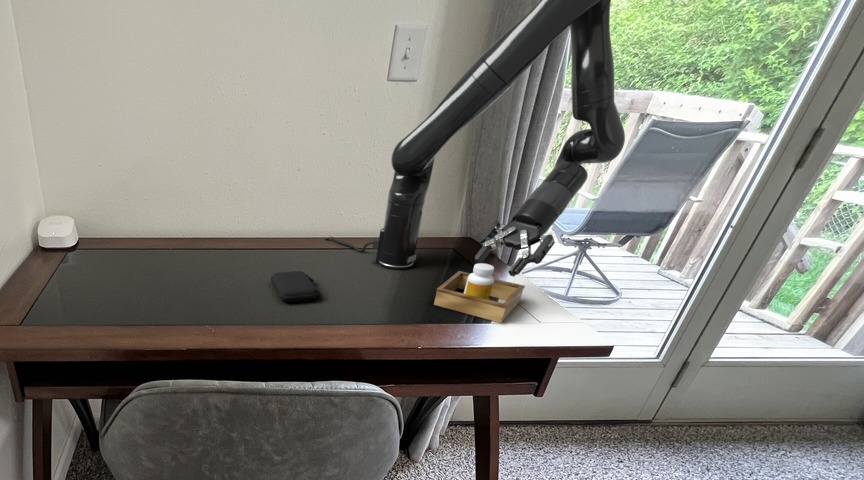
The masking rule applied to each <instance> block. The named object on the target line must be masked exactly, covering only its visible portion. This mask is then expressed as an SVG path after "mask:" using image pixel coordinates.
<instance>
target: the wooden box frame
mask: <svg viewBox="0 0 864 480" xmlns="http://www.w3.org/2000/svg"><path fill="white" fill-rule="evenodd" d="M471 273H472V272H471ZM471 273H470V272H467V271H466V272H465V271H461V270H458V271H457V272H455V274H453V275H452V276H451V277H449V278H448V279H447V280H445V282H443V283H442V284H441V285H439V286H438V287H437V288H436V293H435V298H434V302H433V305H434V306H437V307H440V308H444V309H448V310H451V311H456V312H459V313H463V314H466V315H469V316H473V317H477V318H481V319H485V320H487V321H492V322H496V323H499V324H502V322H503V321H504V320H505V318H507V317H508V315H510V313H511V312H512V311H513V310H514V309H515V307H516V306H517V305H518V304H519V303H520V301H521V298H522V295H523V292H524V290H525V288H526V285H523V284H520V283H515V282H511V281H506V280H502V279H498V278H494V284H493V287H492V290H491V294H490V297H492V298H496V299H500V300H505V301H504V302H499V301H496V300H491V299H489V300H487V299H483V298H479V297H475V296H471V295H467V294H464V292H459V291H456V290H458V289H460V290H465V286H466V282H467V278H468V276H469V275H470V274H471Z"/></svg>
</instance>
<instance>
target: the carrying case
mask: <svg viewBox="0 0 864 480" xmlns="http://www.w3.org/2000/svg"><path fill="white" fill-rule="evenodd" d="M270 282H271V284H272V286H273V288H274V290H275V292H276V294H277V296H278V297H279V299H280V300H281V301H282V302H284V303H296V302H297V303H299V302H307V301H314V300H316V298H318V296H319V290H318V288H317V286H316V285H315V284H314V283H313V282H314V278H313V277H312V276H310V275H309V274H306V273H305V272H304V271H302V270H292V271H279V272H278V271H277V272H274V273H273V274H272V275H271V276H270Z"/></svg>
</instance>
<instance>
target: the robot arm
mask: <svg viewBox="0 0 864 480" xmlns="http://www.w3.org/2000/svg"><path fill="white" fill-rule="evenodd" d="M611 3H612V0H539V1H538V2H537V3H536V4H535V5H534V7H532V9H531V10H529V12H528V13H527V14H526V15H524V17H523V18H521V19H520V20H518V22H516V24H513V26H512V27H511V28H509V29H508V30H506V32H505V33H503V34H502V35H501V36H500V37H499V38H498V39H497V40H496V41H495V42H493V44H492V45H490V46H489V47H488V48H487V49H486V50H485V51H484V52H483V53H482V54H481V55H480V56H479V57H478V58H477V59H476V60H475V61H474V62H473V64H471V66H469V68H468V69H467V70H466V71H465V72H464V73H463V75H462V76H461V77H460V78H459V80H457V81H456V83H455V84H454V85H453V86H452V87H451V89H450V90H449V91H448V92H447V93H446V95H445V96H444V97H443V98H442V100H441V101H440V102H439V104H438V105H437V106H436V107H435V108H434V110H432V112H431V113H430V114H429V115H428V116H427V117H426V118H425V119H424V120H423V121H422V122H421V123H419V124H418V125H417V126H416V127H415V128H414V129H413V130H411V132H409V133H408V134H407V135H406V136H405V137H404V138H402V139H400V141H398V143H397V144H396V145H395V146H394V148H393V151H392V153H391V157H390V160H391V161H390V162H391V167H392V170H393V171H394V173H393V178H392V181H391V184H390V187H389V190H388V196H387V203H386V210H385V216H384V223H383V227H382V228H381V229H379V236H378V237H377V238H375V239H373V241H368V242H367V243H365V244H364V245H363V246H362V248H358V247H357V246H355V245H353V244H351V243H348V242H344V241H341V240H339V239H337V240H334V239H336V238H335V237H333V236H330V237H331V238H334V239H330V238H327V237H325V238H324V239H323V240H324V241H328V240H333V241H334V242H335V243H337V244H341V245H344V246H347V247H349V248H353V249H354V250H356V251H357V252H361V253H362V252H365V250H366V248H367V247H368V246H369V245H370V246H371V245H372V249H373V250H376V257H375V264H379V265H380V266H382V267H385V268H388V269H393V270H394V269H395V270H405V269H410V268H412V267H413V266H414V263H415V261H416V260H417V254H416V250H417V244H418V240H419V235H420V230H421V229H420V228H421V224H422V218H423V213H424V208H425V202H426V198H427V193H428V190H429V187H430V183H431V178H432V174H433V169H434V164H435V159H436V155H437V154H438V153H439V152H440V151H441V150H442V149H443V148H444V147H445V145H446V144H447V143H448V142H449V141H450V140H451V139H452V138H453V137H455V135H456V134H457V133H459V131H461V130H463V128H465V127H466V126H468V125H469V124H471V123H472V122H473V121H474V120H475V119H476V118H477V117H479V116H480V115H481V114H482V113H484V112H485V111H486V110H487V109H488V108H489V107H491V106H492V105H493V104H494V103H495V102H496V101H497V100H498V99H500V98H501V96H503V95H504V94H505V93H506V92H507V91H508V90H509V89H510V88H511V87H512V86H513V85H514V84H515V83H516V82H517V81H518V80H519V79H520V78H521V77H522V76H523V75H524V74H525V73H526V72H527V70H528V69H529V68H530V67H531V66H532V65H533V64H534V63H535V61H537V59H538V58H539V57H540V56H541V55H542V54H543V53H544V51H546V49H547V48H548V47H549V46H550V44H552V43H553V41H554V40H555V39H556V38H558V37H559V36H560V34H562V33H563V32H564V31H565V30H566V29H568V28H569V31H570V43H571V44H570V46H571V47H570V49H571V72H570V73H571V74H570V75H571V77H570V78H571V79H570V80H571V85H570V86H571V87H570V91H571V114H572V117H573V119H574V120H576V121H579V122H580V121H581V122H585V123H587V124H588V126H589V127H590V128H586V129H585V128H584V129H581V130H578V131H576V132H574V133H573V134H572V135H570V136H569V137H568V138H567V140H566V141H565V142H564V144H563V146H562V147H561V150H560V152H559V155H558V156H557V159H556V162H555V163H554V166H553V168H552V170H551V171H550V172H549V173H548V174H547V175H546V177H545V178H544V179H543V181H542V182H541V183H540V184H539V185H538V186H537V187H536V188H535V189H534V190H533V191H532V192H531V194H530V195H529V196H528V198H527V199H526V200H525V201H524V202H523V204H522V205H521V206H520V207H519V208H518V209H517V211H516V212H515V213H514V214H513V216H512V218H511V219H510V221H509V222H508V223H507V224H502V223H500V220H498V219H496V220H494V221H493V222H492V223H491V224H490V225H489V227H488V228H487V229H486V230H485V231H484V232H483V233H482V235H481V236H480V237H479V238H478V242H479V244H480V246H481V248H480V249H479V250H478V252H476V254H475V255H474V263H475V264H479V263H483V262H484V261H485V259H487V257H488V256H489V255H490V253H491V251H494V250H496V249H502V248H504V247H506V248H510V249H515V250H516V251H520V250H521V257H518V258H517V259H516V260H515V262H514V263H513V265H512V266H511V267H510V268H509V270H508V274H509V276H510V277H515V276H518V275H519V274H521V272H522V271H523V270H524V269H525V267H526V266H527V265H529V264H531V263H532V264H533V263H534V264H535V265H539V264H540V263H542V261H543V260H544V259H545V257H546V256H547V255H548V253H549V252H550V251H551V249H552V248H553V246H554V245H555V243H556V242H555V238H554V236H553V234H551V233H549V234H547V235H545V234H546V233H547V232H548V230H549V229H551V227H552V226H553V224H554V223H555V222H556V221H557V220H558V219H559V217H560V216H561V215H562V214H563V213H564V211H565V210H566V208H567V207H568V205H569V204H570V202H571V201H572V199H573V198H574V197H575V196H576V195H577V193H578V192H579V191H580V190H581V188H582V187H583V186H584V185H585V183H586V182H587V180H588V177H589V176H588V175H589V174H588V171H587V169H586V168H585V167H584V166H582V165H585V164H586V165H587V164H605V163H610V162H612V161H613V160H615V159H616V158H618V156H619V155H620V154H621V153H622V150H623V149H624V146H625V143H626V133H625V129H624V125H623V122H622V119H621V117H620V114H619V111H618V108H617V106H616V102H615V64H614V63H615V62H614V54H613V53H614V52H613V47H612V46H613V45H612V39H611V27H610V26H611V24H610V21H611V20H610V18H611V17H610V15H611ZM500 240H501V241H500ZM537 243H539V245H538V246H537V248H536V249H535V250H534V252H533V253H532V246H533V245H535V244H537Z"/></svg>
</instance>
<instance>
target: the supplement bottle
mask: <svg viewBox="0 0 864 480" xmlns="http://www.w3.org/2000/svg"><path fill="white" fill-rule="evenodd" d="M494 271H495V267H494V265H491V264H488V263H483V262H482V263H479V264H477V263H475V264H474V266H473V269H472V272H471V274H470V275H469V276H468V278H467V282H466V286H465V290H464V291H463V294H467V295H471V296H475V297H479V298H483V299H487V300H490V297H491V296H490V294H491V290H492V287H493V284H494V279H495V277H494V275H493V274H494Z"/></svg>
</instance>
